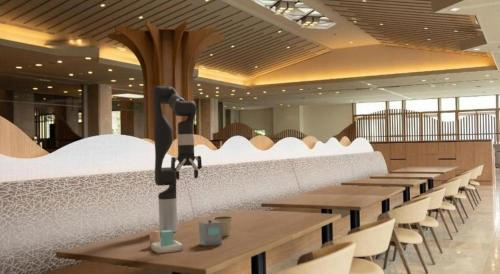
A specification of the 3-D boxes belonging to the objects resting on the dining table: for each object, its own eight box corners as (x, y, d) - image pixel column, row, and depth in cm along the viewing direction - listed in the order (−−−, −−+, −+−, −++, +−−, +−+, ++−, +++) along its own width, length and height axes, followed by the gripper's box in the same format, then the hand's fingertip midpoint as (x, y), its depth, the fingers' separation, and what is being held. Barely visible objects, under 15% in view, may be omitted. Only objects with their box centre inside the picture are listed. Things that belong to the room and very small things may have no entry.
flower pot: (215, 237, 246) (215, 219, 246) (211, 234, 255) (211, 217, 255) (234, 236, 248) (234, 218, 248) (230, 233, 257) (229, 215, 257)
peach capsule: (148, 246, 230) (148, 231, 230) (158, 245, 232) (158, 229, 232) (151, 248, 226) (150, 232, 226) (161, 247, 228) (160, 231, 228)
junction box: (199, 244, 232) (198, 220, 232) (216, 241, 235) (215, 218, 235) (205, 246, 225) (204, 222, 225) (222, 244, 229) (221, 220, 229)
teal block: (160, 247, 223) (160, 230, 223) (170, 245, 225) (170, 229, 225) (163, 248, 219) (163, 232, 219) (173, 247, 221) (173, 231, 221)
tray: (151, 248, 225) (151, 243, 225) (175, 245, 229) (175, 240, 229) (158, 253, 215) (157, 247, 215) (183, 250, 219) (183, 244, 219)
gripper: (197, 143, 245) (198, 177, 245) (168, 144, 239) (169, 179, 239) (203, 143, 238) (204, 178, 239) (173, 144, 232) (174, 180, 233)
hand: (186, 178), depth 239 cm, fingers open, 8 cm apart
